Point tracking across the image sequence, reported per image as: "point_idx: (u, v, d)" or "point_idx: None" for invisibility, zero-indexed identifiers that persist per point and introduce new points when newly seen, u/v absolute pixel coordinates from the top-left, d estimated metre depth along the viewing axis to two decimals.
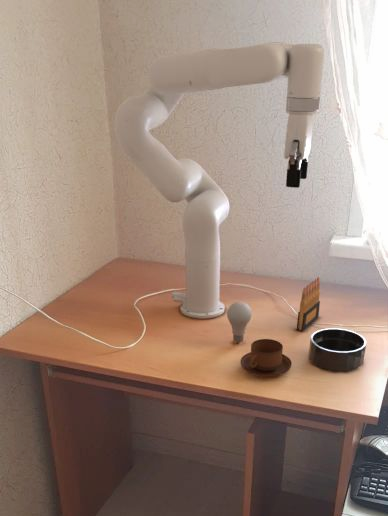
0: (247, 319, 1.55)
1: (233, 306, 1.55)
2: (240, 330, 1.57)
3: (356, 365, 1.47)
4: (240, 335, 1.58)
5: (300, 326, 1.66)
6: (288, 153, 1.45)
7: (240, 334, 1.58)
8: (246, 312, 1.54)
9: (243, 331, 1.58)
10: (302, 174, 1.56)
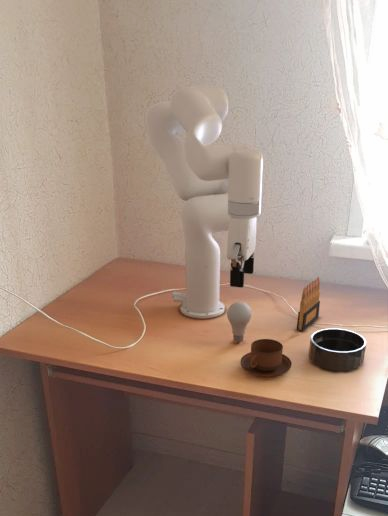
0: (247, 319, 1.55)
1: (233, 306, 1.55)
2: (240, 330, 1.57)
3: (356, 365, 1.47)
4: (240, 335, 1.58)
5: (300, 326, 1.66)
6: (230, 255, 1.44)
7: (240, 334, 1.58)
8: (246, 312, 1.54)
9: (243, 331, 1.58)
10: (248, 269, 1.55)
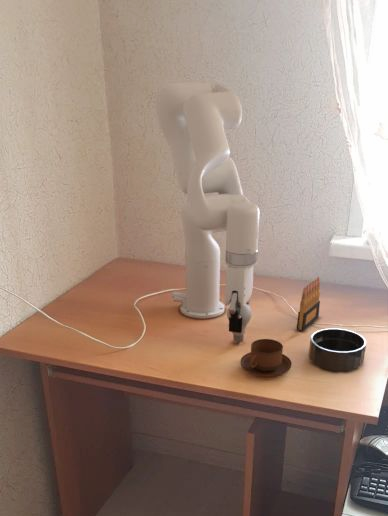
0: (247, 319, 1.55)
1: None
2: None
3: (356, 365, 1.47)
4: (240, 335, 1.58)
5: (300, 326, 1.66)
6: (228, 301, 1.50)
7: (240, 334, 1.58)
8: (246, 312, 1.54)
9: (243, 331, 1.58)
10: None
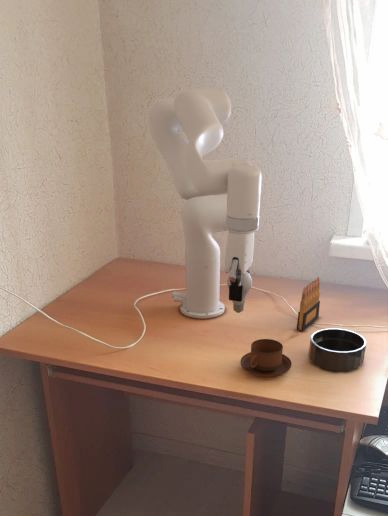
0: (248, 288, 1.51)
1: None
2: None
3: (356, 365, 1.47)
4: (240, 305, 1.54)
5: (300, 326, 1.66)
6: (228, 269, 1.46)
7: (240, 304, 1.54)
8: (246, 280, 1.50)
9: (243, 300, 1.54)
10: None
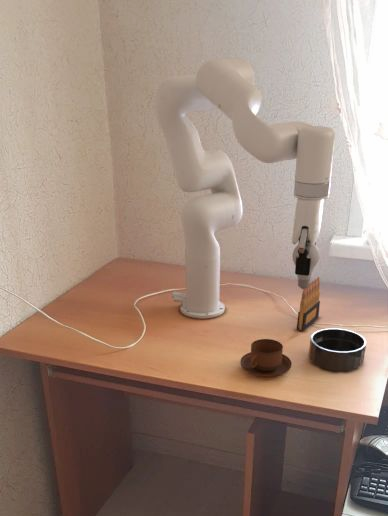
0: (315, 260, 1.41)
1: None
2: None
3: (356, 365, 1.47)
4: (306, 280, 1.44)
5: (300, 326, 1.66)
6: (296, 239, 1.36)
7: (306, 278, 1.44)
8: (314, 252, 1.40)
9: (310, 275, 1.44)
10: None
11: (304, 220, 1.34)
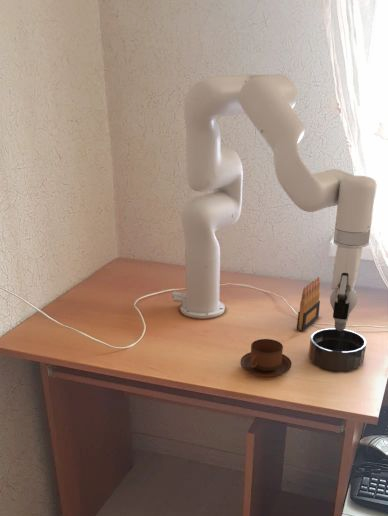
0: (353, 305, 1.42)
1: None
2: None
3: (356, 365, 1.47)
4: (343, 322, 1.46)
5: (300, 326, 1.66)
6: (336, 285, 1.38)
7: (343, 321, 1.45)
8: (352, 296, 1.41)
9: (347, 318, 1.45)
10: None
11: (344, 267, 1.35)
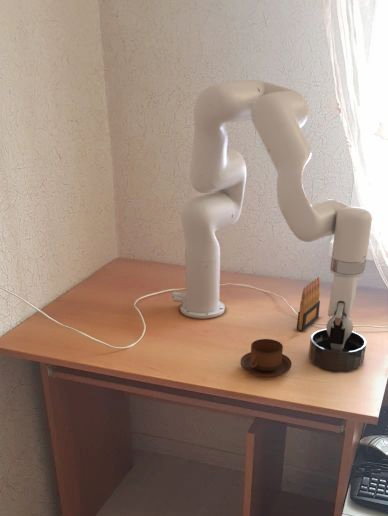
0: (349, 333, 1.46)
1: None
2: None
3: (356, 365, 1.47)
4: (339, 350, 1.50)
5: (300, 326, 1.66)
6: (332, 312, 1.41)
7: (339, 349, 1.49)
8: (348, 325, 1.45)
9: (343, 345, 1.49)
10: None
11: (341, 295, 1.39)
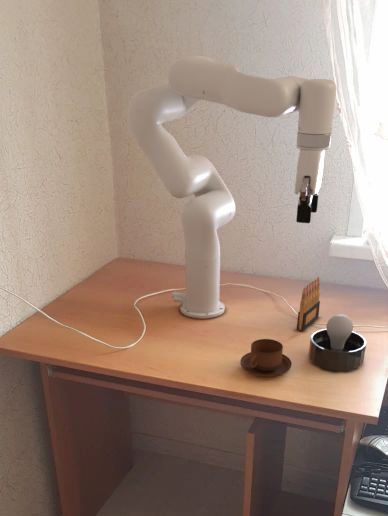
0: (349, 333, 1.46)
1: (334, 319, 1.46)
2: (340, 344, 1.48)
3: (356, 365, 1.47)
4: (339, 350, 1.50)
5: (300, 326, 1.66)
6: (299, 189, 1.43)
7: (339, 349, 1.49)
8: (348, 325, 1.45)
9: (343, 345, 1.49)
10: (312, 208, 1.53)
11: (306, 170, 1.40)
